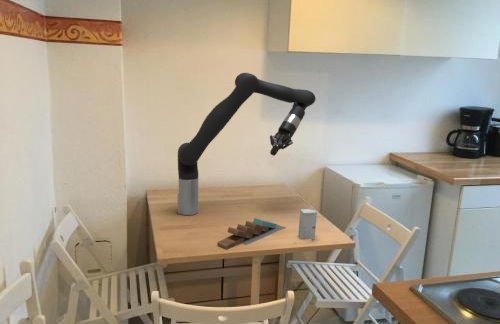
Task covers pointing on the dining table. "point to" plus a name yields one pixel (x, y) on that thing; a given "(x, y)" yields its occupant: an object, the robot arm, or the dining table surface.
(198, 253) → the dining table surface
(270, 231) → the domino mat
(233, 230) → the domino
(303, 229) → the skincare box
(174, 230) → the dining table surface
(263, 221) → the domino
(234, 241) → the domino
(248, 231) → the domino
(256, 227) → the domino
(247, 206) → the dining table surface
